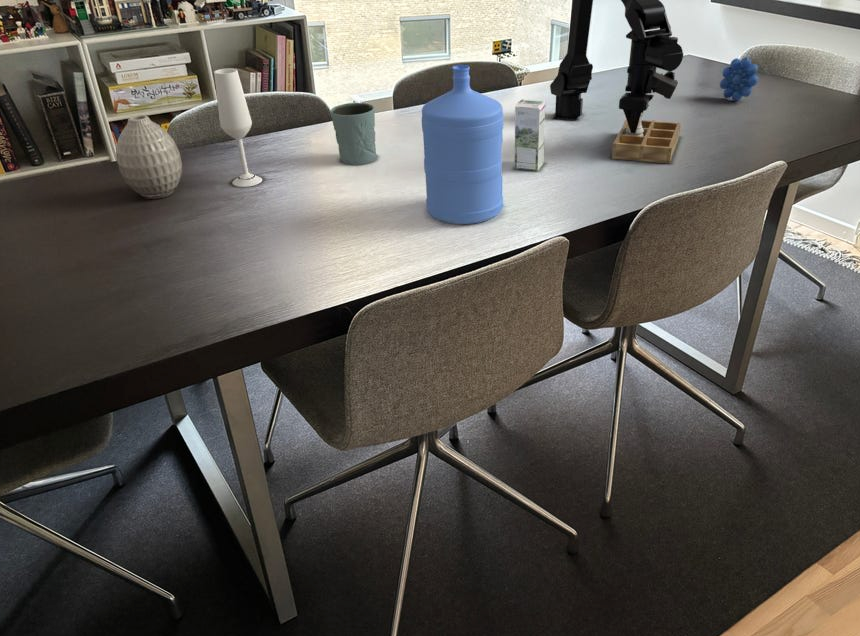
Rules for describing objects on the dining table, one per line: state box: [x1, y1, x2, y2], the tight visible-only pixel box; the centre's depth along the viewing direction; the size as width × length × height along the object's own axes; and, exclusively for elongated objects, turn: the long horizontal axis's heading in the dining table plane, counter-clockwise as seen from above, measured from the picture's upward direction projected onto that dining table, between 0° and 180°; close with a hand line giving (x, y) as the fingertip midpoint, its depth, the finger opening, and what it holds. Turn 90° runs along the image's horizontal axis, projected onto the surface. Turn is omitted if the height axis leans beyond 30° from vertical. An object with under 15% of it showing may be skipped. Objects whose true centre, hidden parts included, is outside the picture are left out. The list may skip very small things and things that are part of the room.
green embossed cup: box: [330, 102, 377, 166], centre depth 177 cm, size 10×10×12 cm
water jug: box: [421, 64, 504, 225], centre depth 145 cm, size 16×16×28 cm
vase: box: [115, 114, 183, 200], centre depth 160 cm, size 13×13×17 cm
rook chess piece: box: [625, 113, 644, 136], centre depth 179 cm, size 4×4×8 cm
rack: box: [611, 118, 682, 164], centre depth 181 cm, size 13×20×4 cm
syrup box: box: [514, 99, 547, 172], centre depth 169 cm, size 6×6×14 cm
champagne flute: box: [213, 67, 263, 188], centre depth 163 cm, size 7×7×24 cm
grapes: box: [719, 56, 759, 102], centre depth 210 cm, size 12×7×12 cm, turn 37°
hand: (634, 129), depth 181 cm, fingers closed on rook chess piece, 4 cm apart
